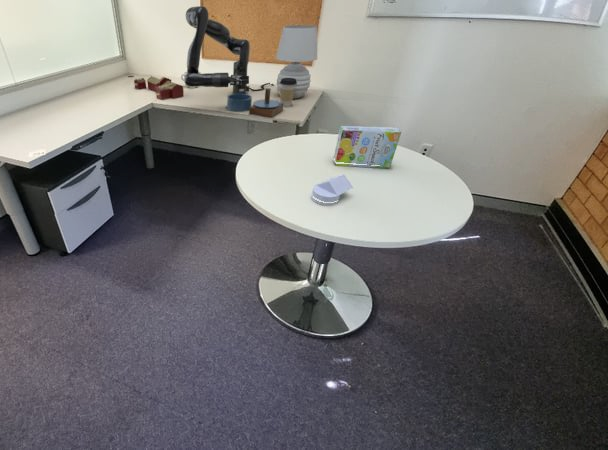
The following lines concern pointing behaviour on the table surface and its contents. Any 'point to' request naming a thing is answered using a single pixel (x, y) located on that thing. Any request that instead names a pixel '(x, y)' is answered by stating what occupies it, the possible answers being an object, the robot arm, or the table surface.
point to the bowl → (239, 102)
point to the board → (266, 111)
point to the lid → (267, 101)
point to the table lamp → (297, 55)
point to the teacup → (185, 75)
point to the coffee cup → (287, 91)
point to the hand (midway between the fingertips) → (249, 79)
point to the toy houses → (161, 87)
